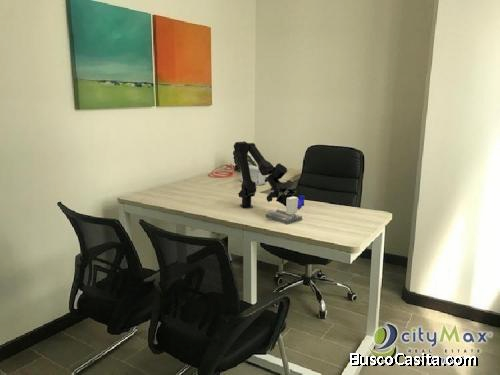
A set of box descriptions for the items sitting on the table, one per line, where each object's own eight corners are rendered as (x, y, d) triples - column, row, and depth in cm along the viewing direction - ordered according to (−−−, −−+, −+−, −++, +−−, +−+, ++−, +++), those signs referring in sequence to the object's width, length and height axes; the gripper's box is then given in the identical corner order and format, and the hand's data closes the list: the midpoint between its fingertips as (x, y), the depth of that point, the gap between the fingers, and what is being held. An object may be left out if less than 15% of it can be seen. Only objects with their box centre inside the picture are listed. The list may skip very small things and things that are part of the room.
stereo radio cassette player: (266, 184, 303) (266, 158, 299) (258, 186, 298) (259, 159, 293) (246, 180, 318) (246, 155, 313) (239, 181, 312) (239, 156, 308)
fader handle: (285, 217, 214) (286, 198, 212) (292, 215, 218) (293, 196, 216) (289, 218, 212) (290, 199, 210) (297, 216, 216) (297, 197, 213)
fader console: (265, 217, 222) (265, 211, 221) (280, 213, 229) (281, 207, 229) (286, 224, 210) (286, 218, 209) (301, 219, 218) (302, 214, 217)
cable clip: (296, 210, 237) (297, 200, 236) (289, 208, 239) (290, 199, 238) (306, 206, 246) (306, 196, 245) (299, 204, 249) (300, 195, 248)
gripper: (270, 177, 209) (285, 202, 204) (295, 173, 221) (309, 196, 216) (260, 189, 217) (274, 213, 211) (284, 184, 229) (297, 207, 223)
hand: (289, 207), depth 215 cm, fingers closed, pressing on fader handle
